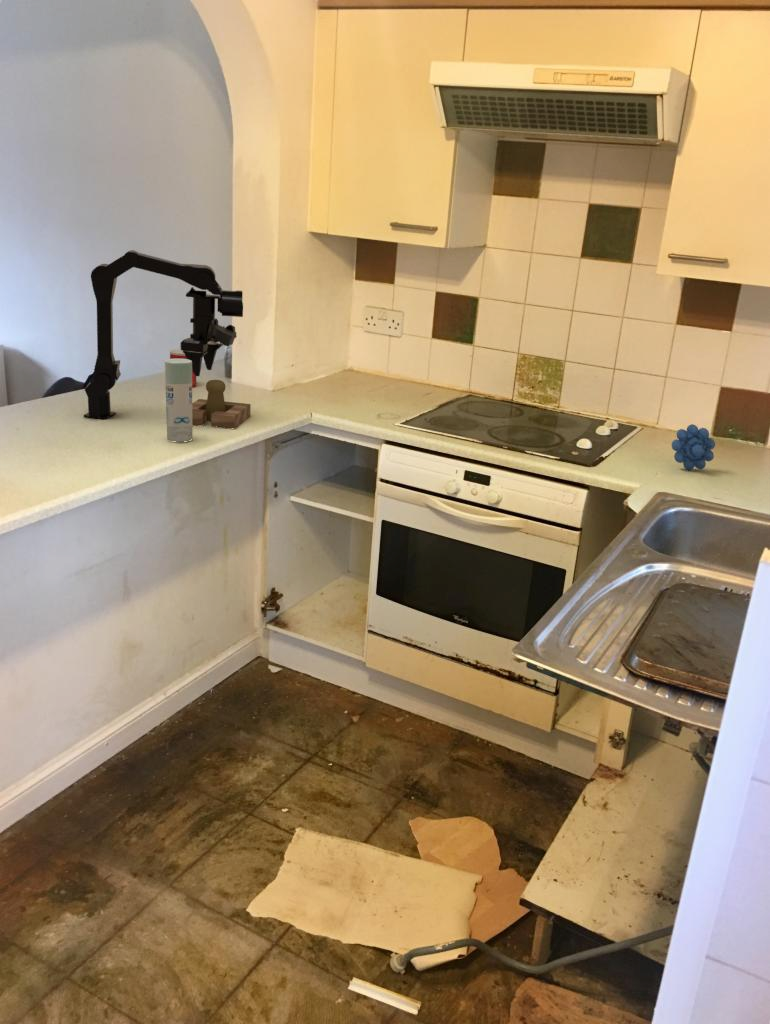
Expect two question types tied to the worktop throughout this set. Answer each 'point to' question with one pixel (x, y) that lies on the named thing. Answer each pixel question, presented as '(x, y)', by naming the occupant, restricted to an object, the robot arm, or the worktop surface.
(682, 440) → the blue knobbed flower
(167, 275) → the robot arm
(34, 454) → the worktop surface
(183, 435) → the spray paint can
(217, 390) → the cork
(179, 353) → the canned food
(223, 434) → the worktop surface
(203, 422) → the socket block
